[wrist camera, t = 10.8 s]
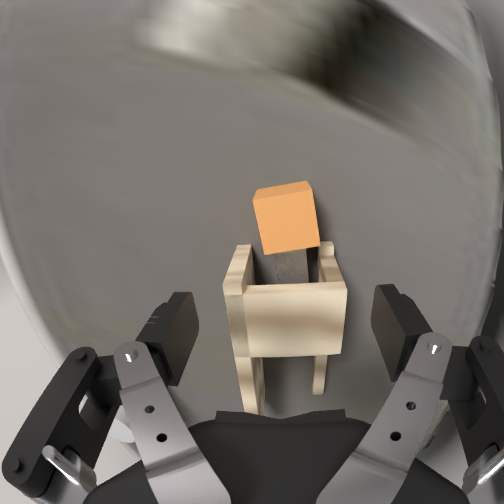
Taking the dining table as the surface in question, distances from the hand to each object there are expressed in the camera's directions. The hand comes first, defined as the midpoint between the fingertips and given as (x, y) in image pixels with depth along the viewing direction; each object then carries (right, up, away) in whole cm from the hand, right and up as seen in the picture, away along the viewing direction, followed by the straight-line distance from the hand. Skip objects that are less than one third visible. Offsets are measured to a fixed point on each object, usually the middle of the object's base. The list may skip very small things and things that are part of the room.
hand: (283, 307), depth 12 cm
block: (+2, +7, +17) cm, 18 cm away
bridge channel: (+3, -7, +22) cm, 24 cm away
